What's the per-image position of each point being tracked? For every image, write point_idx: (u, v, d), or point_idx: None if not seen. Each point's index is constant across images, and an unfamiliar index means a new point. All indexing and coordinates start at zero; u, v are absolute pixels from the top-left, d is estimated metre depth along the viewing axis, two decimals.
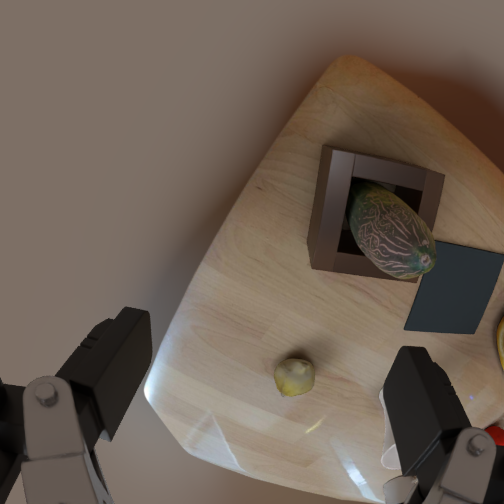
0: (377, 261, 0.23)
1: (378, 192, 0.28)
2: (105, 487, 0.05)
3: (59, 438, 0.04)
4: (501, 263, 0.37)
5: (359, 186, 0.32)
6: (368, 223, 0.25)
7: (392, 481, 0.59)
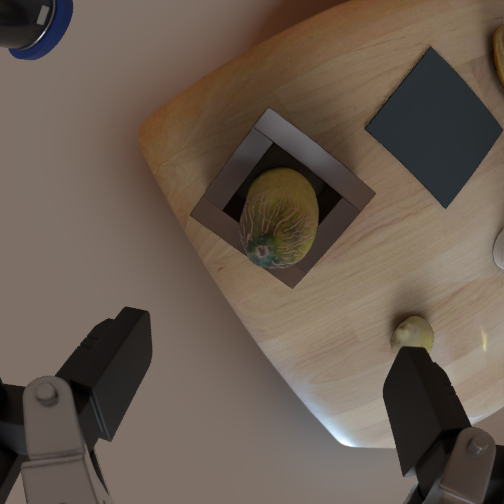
0: None
1: None
2: (105, 487, 0.05)
3: (59, 438, 0.04)
4: (437, 56, 0.27)
5: None
6: None
7: None
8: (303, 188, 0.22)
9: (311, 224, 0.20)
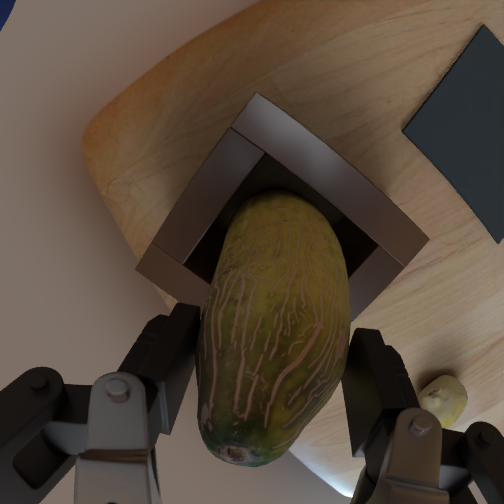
0: None
1: (224, 243, 0.16)
2: (157, 487, 0.06)
3: (123, 436, 0.05)
4: (493, 37, 0.16)
5: None
6: None
7: None
8: (326, 252, 0.11)
9: (346, 345, 0.09)
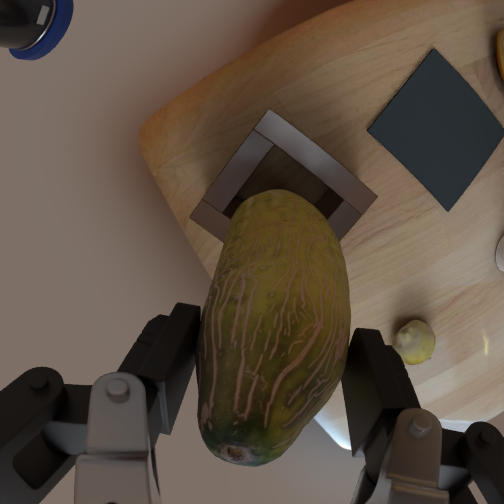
0: None
1: (224, 243, 0.16)
2: (158, 487, 0.06)
3: (123, 436, 0.05)
4: (440, 57, 0.27)
5: None
6: None
7: None
8: (326, 251, 0.11)
9: (346, 345, 0.09)
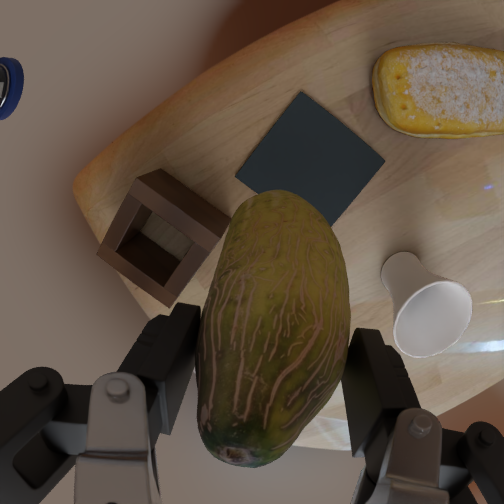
0: None
1: (224, 244, 0.16)
2: (157, 487, 0.06)
3: (123, 436, 0.05)
4: (307, 99, 0.37)
5: None
6: None
7: None
8: (326, 252, 0.11)
9: (345, 346, 0.09)
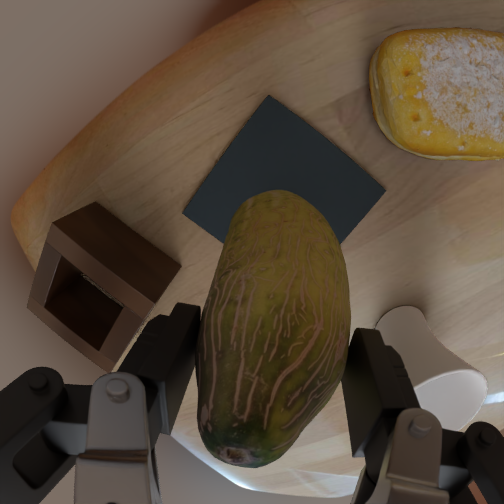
0: None
1: (224, 244, 0.16)
2: (157, 487, 0.06)
3: (123, 436, 0.05)
4: (278, 106, 0.27)
5: None
6: None
7: None
8: (326, 252, 0.11)
9: (346, 346, 0.09)
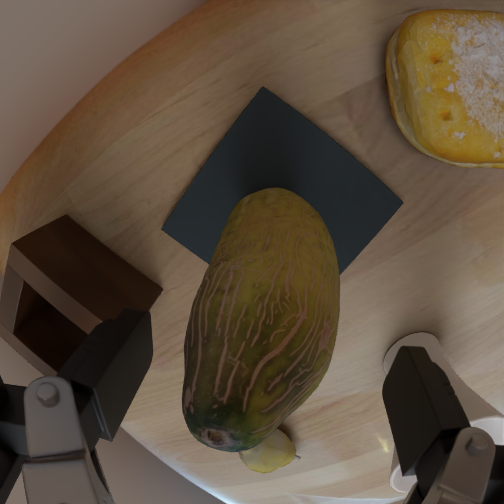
0: None
1: None
2: (106, 487, 0.05)
3: (60, 438, 0.04)
4: (274, 100, 0.22)
5: None
6: None
7: None
8: (315, 246, 0.12)
9: (331, 337, 0.09)
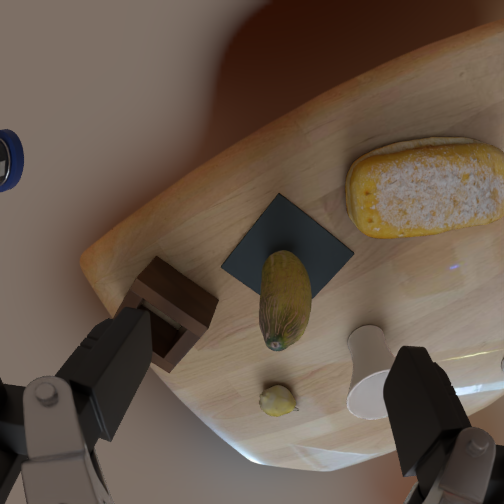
0: None
1: (262, 281, 0.39)
2: (105, 487, 0.05)
3: (59, 438, 0.04)
4: (285, 201, 0.44)
5: None
6: None
7: (502, 364, 0.51)
8: (301, 289, 0.34)
9: (305, 320, 0.31)
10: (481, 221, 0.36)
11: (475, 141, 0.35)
